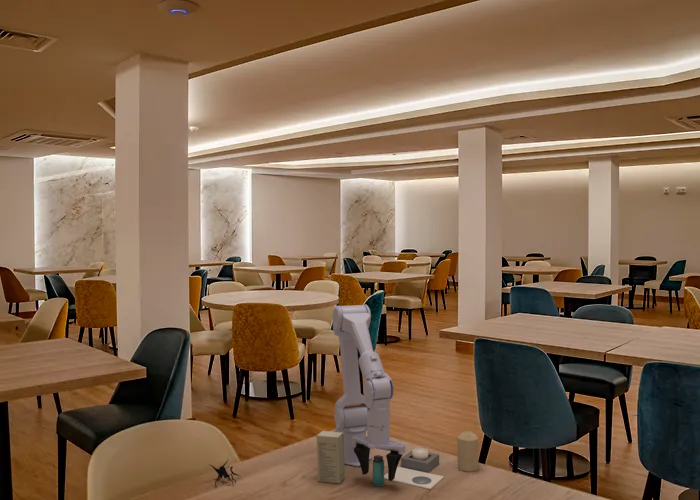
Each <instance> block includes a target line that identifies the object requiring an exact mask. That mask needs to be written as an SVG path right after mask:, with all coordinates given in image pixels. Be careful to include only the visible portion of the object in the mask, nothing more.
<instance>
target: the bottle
mask: <svg viewBox="0 0 700 500" xmlns="http://www.w3.org/2000/svg"><path fill="white" fill-rule="evenodd" d="M384 475H385V460H384V456H382V455H379V454H378V455H377V454H375V455H374V456H373V460H372V485H373V486H375V487H383V486H384V485H385V479H384Z"/></svg>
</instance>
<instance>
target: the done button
mask: <svg viewBox="0 0 700 500" xmlns="http://www.w3.org/2000/svg"><path fill="white" fill-rule="evenodd" d="M411 451H412V458H413V459H418V460H423V461H425V460H427V459H428V452H429V449H427V448H425V447H414V448H413V449H412V450H411Z"/></svg>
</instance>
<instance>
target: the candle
mask: <svg viewBox="0 0 700 500" xmlns="http://www.w3.org/2000/svg"><path fill="white" fill-rule="evenodd" d="M457 468H458V470H460V471H463V472H467V473H472V472H476V471H478V470H479V437H478V436H477V434H475V433H474V432H473V431H471V430H464V431H462V432H461V433H460V434H459V435H458V436H457Z"/></svg>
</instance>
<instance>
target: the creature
mask: <svg viewBox="0 0 700 500" xmlns="http://www.w3.org/2000/svg"><path fill="white" fill-rule="evenodd" d="M228 461H229V458H228V459H227V460H226V462H225V463H223V465H221V466H219V468H217V467H215V466H214V465H212V464H209V466H210V467H212V468H213V470H214V471H215V473H217V478H216V480H215V482H214V486H215V487H216V488H217V487H218V486H217V485H216V483H218V481H219V479H222V478H223V479H227V478H228V481H230V482H232V485H233V486H234V483H235V485H236V484H237V483H236V482H237V481H236V479H235V478H234V476H238V477H240V475H239V474H238V473H235V472H234V471H233V468H234V467H233V466H231V467H230V465H228V466H227V467H225V465H226V464H227V463H228ZM229 467H230V473H228V470H229V469H228V468H229ZM230 476H231V477H230ZM219 482H220V481H219Z"/></svg>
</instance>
